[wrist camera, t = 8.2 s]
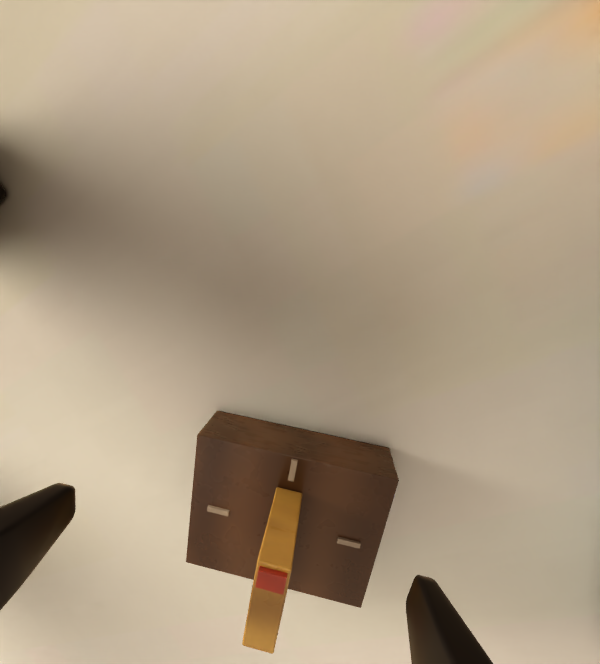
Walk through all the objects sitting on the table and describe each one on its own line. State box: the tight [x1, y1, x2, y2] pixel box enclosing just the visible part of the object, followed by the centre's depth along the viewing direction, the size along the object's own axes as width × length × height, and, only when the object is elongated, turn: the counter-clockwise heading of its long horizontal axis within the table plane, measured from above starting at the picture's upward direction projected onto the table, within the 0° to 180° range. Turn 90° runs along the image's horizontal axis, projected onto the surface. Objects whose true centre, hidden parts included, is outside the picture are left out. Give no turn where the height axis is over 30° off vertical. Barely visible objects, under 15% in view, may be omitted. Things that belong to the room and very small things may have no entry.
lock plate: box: [186, 411, 399, 608], centre depth 19 cm, size 12×10×3 cm
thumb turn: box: [242, 487, 302, 653], centre depth 15 cm, size 6×2×5 cm, turn 170°
